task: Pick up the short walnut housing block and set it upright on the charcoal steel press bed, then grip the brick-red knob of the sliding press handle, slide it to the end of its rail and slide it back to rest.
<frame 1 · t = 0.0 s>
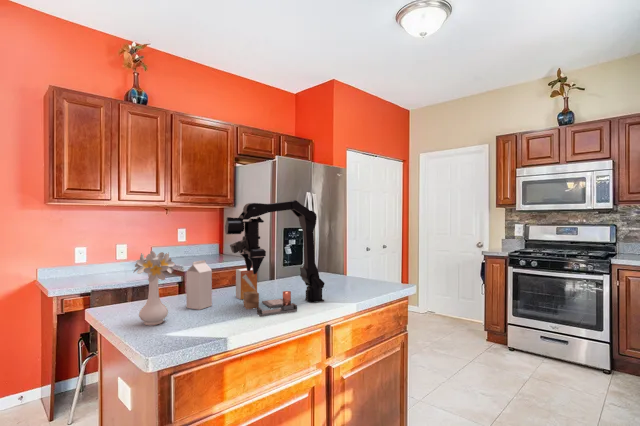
hand: (251, 272, 146), 15 cm above the counter, tool pointing down, fingers open, 9 cm apart
small box: (246, 297, 165), on the counter
housing block: (251, 307, 148), on the counter
press handle: (286, 300, 141), point 5 cm above the counter, slide at 0.0 cm
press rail: (277, 312, 139), on the counter
flower vase: (155, 323, 127), on the counter
press bed: (276, 304, 152), on the counter
milk carton: (199, 307, 148), on the counter
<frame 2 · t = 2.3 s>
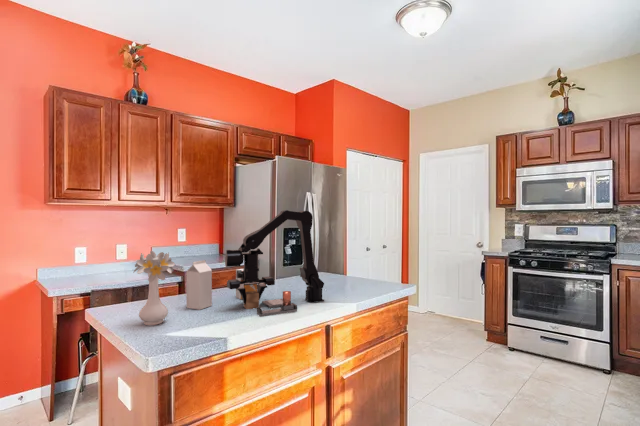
hand: (251, 303, 148), 2 cm above the counter, tool pointing down, fingers closed on housing block, 5 cm apart
housing block: (251, 307, 148), on the counter, touching gripper
everything else where it was.
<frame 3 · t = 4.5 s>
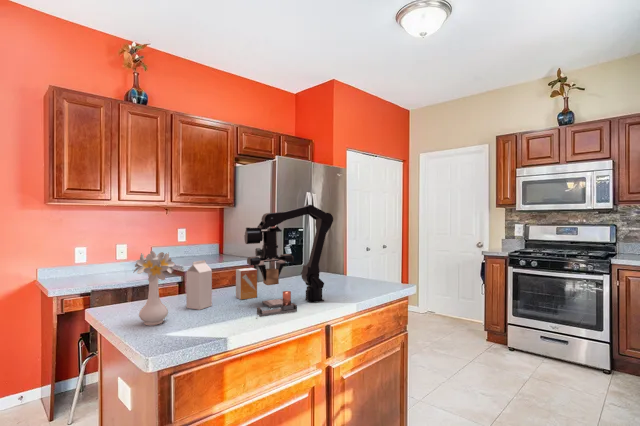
hand: (270, 279, 151), 11 cm above the counter, tool pointing down, fingers closed on housing block, 5 cm apart
housing block: (270, 283, 151), point 9 cm above the counter, touching gripper
everything else where it was.
when the fingers open (4 cm above the counter, at t = 6.9 s): housing block stays where it is, resting on press bed.
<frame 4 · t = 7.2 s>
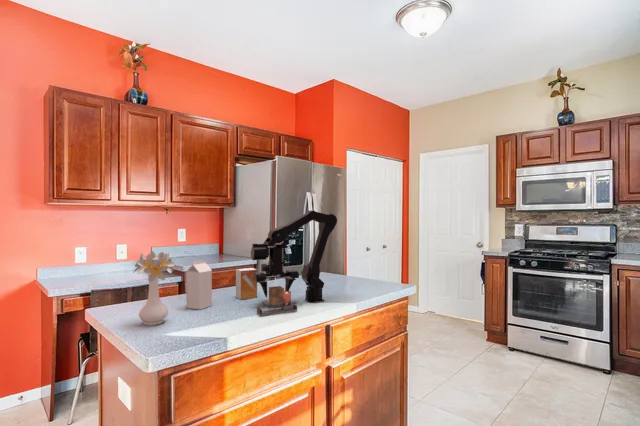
hand: (276, 296, 152), 4 cm above the counter, tool pointing down, fingers open, 9 cm apart
housing block: (276, 301, 152), point 1 cm above the counter, touching press bed
everything else where it was.
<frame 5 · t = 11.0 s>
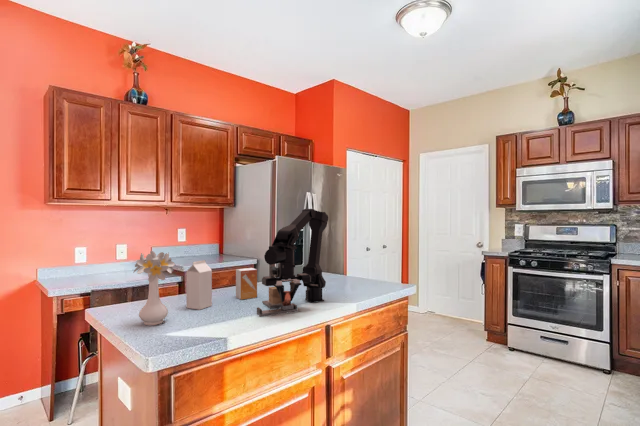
hand: (286, 301, 141), 4 cm above the counter, tool pointing down, fingers closed on press handle, 3 cm apart
press handle: (286, 300, 141), point 5 cm above the counter, slide at 0.0 cm, touching gripper
everything else where it was.
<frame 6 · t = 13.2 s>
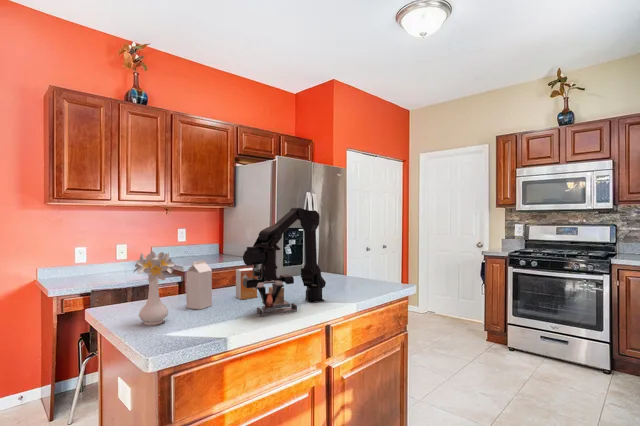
hand: (268, 303, 138), 4 cm above the counter, tool pointing down, fingers closed on press handle, 3 cm apart
press handle: (268, 302, 138), point 5 cm above the counter, slide at 7.3 cm, touching gripper
everything else where it was.
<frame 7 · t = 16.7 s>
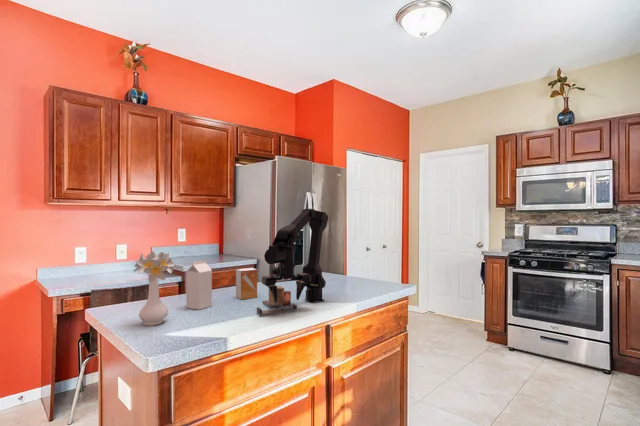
hand: (286, 301, 141), 4 cm above the counter, tool pointing down, fingers open, 9 cm apart
press handle: (286, 300, 141), point 5 cm above the counter, slide at 0.1 cm
everything else where it was.
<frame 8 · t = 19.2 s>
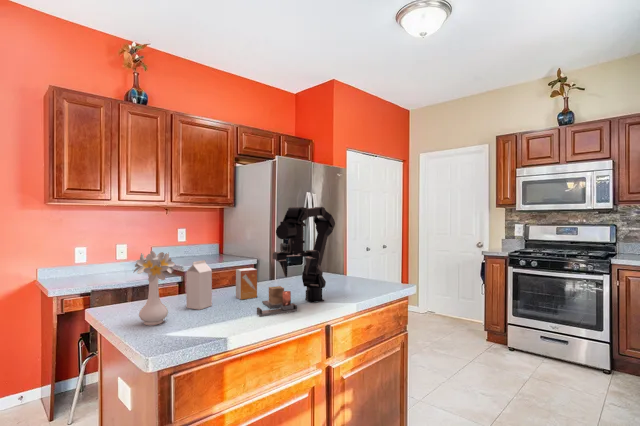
hand: (296, 276, 146), 13 cm above the counter, tool pointing down, fingers open, 9 cm apart
nothing on the counter moved.
at the end: housing block 0.1 cm off-centre on the press bed, point 1.2 cm above the press bed's base; housing block tilted 0°; press handle slide at 0.1 cm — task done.
